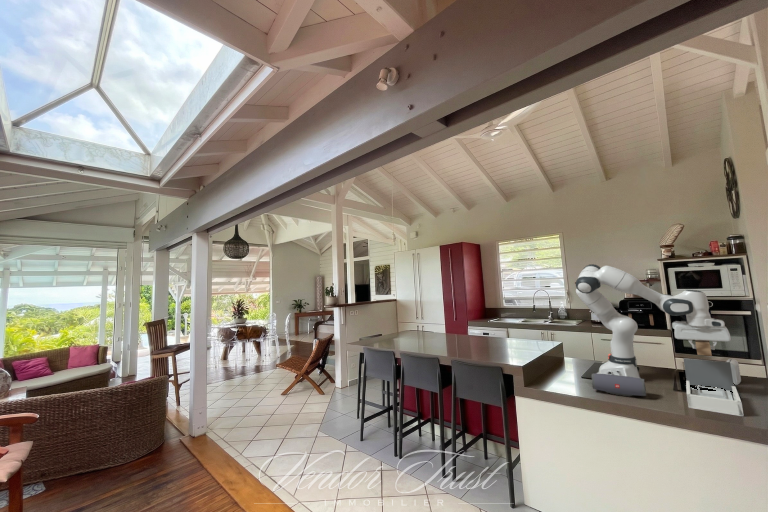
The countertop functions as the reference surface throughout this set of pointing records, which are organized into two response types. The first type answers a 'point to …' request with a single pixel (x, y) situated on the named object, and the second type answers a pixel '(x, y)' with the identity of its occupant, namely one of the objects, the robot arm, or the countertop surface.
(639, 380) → the bluetooth speaker
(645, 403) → the countertop surface
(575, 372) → the countertop surface
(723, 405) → the white open box
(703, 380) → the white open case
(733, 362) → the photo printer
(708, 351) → the brown wooden block
